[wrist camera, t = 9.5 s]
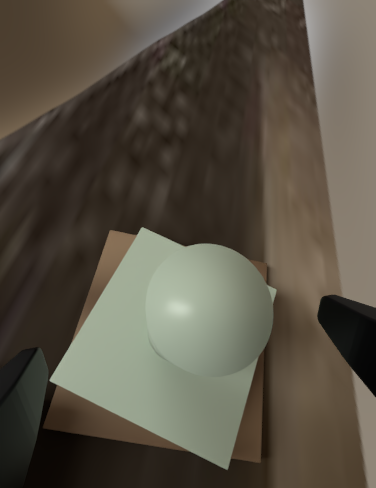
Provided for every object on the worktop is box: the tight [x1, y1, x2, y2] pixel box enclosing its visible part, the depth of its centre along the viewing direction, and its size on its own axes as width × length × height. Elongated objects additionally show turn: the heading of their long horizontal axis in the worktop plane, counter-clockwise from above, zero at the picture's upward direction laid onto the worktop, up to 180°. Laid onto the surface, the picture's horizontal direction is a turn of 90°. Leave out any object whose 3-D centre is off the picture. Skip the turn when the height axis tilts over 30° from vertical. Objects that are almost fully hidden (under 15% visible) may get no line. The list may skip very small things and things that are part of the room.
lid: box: [49, 227, 277, 470], centre depth 10 cm, size 9×9×9 cm
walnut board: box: [43, 230, 267, 463], centre depth 15 cm, size 11×11×1 cm
